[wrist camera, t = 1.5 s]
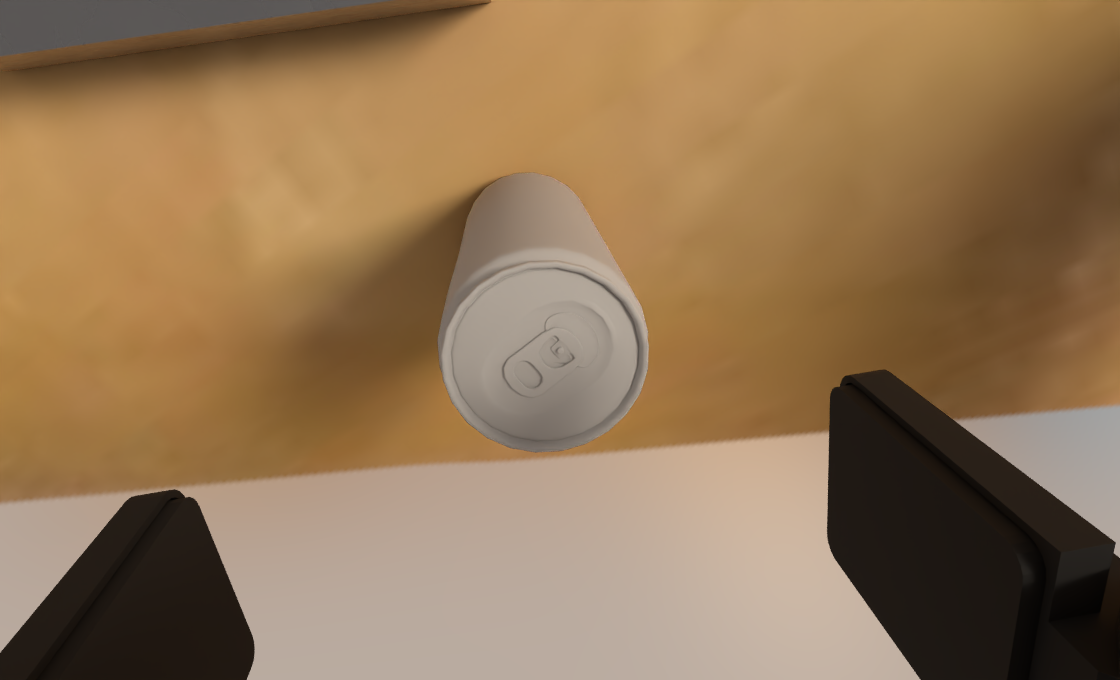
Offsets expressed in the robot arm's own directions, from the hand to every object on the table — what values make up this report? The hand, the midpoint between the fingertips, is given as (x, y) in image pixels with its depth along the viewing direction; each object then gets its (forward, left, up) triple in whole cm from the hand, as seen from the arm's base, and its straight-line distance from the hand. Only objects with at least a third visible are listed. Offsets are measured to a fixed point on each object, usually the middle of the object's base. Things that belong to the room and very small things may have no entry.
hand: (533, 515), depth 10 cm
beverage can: (-1, 0, -17) cm, 17 cm away
